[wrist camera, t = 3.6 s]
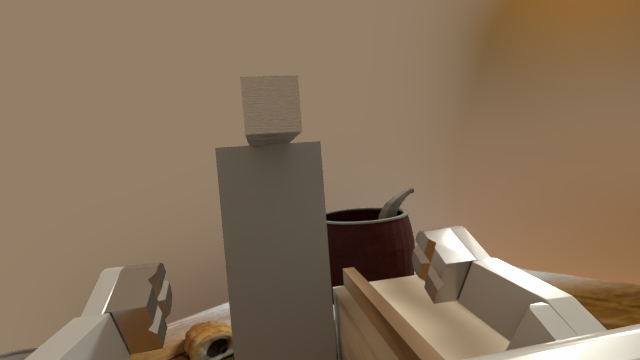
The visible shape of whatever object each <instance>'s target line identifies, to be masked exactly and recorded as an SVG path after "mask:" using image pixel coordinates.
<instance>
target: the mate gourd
mask: <svg viewBox="0 0 640 360" xmlns="http://www.w3.org/2000/svg"><path fill="white" fill-rule="evenodd" d="M413 192H414V189H413V188H412V187H411V188H409V189H407V190H405V191H403V192H401V193H400V194H398V195H396V196H395V197H393V198H392V199H390V200H389V201H388V202H387V203H386V204H385V205H384V207H366V208H351V209H342V210H335V211H330V212H326V222H327V235H328V248H329V262H330V275H331V288H332V301H333V305H334V296H333V287H337V286H344V280H343V268H351V267H354V268H355V269H356V270H357V271H358V272H359V273H360V274H361V275H362V276H363V277H364V278H365V279H366V280H367V281H368V282H372V281H379V280H386V279H393V278H400V277H406V276H413V275H414V267H413V263H412V254H413V250H414V249H415V245H414V237H413V232H412V228H411V224H410V220H409V217H408V211H406V210H404V209H399V207H400V205H401V203H402V202H403V200H404V199H405V198H406V197H407V196H408V195H409V194H410V193H413ZM334 327H335V340H336V353H337V354H338V349H337V336H336V323H335V320H334Z"/></svg>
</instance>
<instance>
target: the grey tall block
mask: <svg viewBox="0 0 640 360" xmlns="http://www.w3.org/2000/svg"><path fill="white" fill-rule="evenodd" d="M216 160H217V170H218V181H219V182H218V183H219V194H220V205H221V216H222V227H223V238H224V249H225V260H226V272H227V282H228V294H229V305H230V316H231V327H232V338H233V349H234V360H337V353H336V340H335V327H334V314H333V301H332V288H331V275H330V262H329V248H328V235H327V222H326V209H325V196H324V184H323V170H322V157H321V144H320V141H318V142H303V143H302V142H301V143H286V144H270V145H254V146H239V147H223V148H216Z"/></svg>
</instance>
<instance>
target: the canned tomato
mask: <svg viewBox="0 0 640 360" xmlns="http://www.w3.org/2000/svg"><path fill="white" fill-rule="evenodd" d="M36 349H38V348H30V349H23V350H17V351H13V352H9V353H5V354H1V355H0V360H24V359H26V358H27V357H28V356H29V355H30V354H32V353H33V352H34V351H35V350H36Z"/></svg>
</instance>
